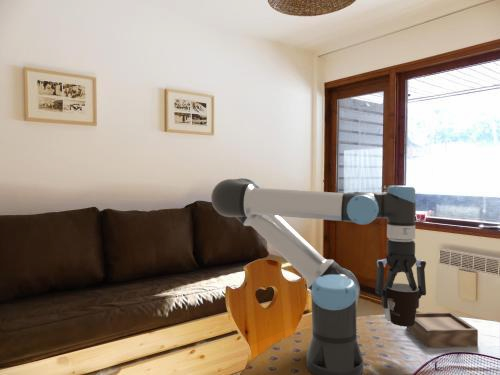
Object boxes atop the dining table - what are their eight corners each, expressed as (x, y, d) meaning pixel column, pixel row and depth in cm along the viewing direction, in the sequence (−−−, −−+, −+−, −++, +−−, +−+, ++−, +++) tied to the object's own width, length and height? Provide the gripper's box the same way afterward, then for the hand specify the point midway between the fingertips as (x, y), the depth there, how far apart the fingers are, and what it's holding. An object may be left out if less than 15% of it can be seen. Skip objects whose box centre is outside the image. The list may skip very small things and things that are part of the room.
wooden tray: (427, 347, 114) (427, 330, 114) (406, 327, 129) (406, 312, 129) (477, 346, 114) (477, 329, 114) (451, 326, 129) (451, 312, 129)
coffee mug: (422, 329, 103) (422, 292, 103) (388, 326, 105) (388, 290, 105) (413, 314, 115) (413, 281, 115) (382, 312, 117) (383, 279, 116)
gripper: (371, 241, 106) (370, 324, 106) (441, 241, 106) (440, 324, 106) (363, 237, 113) (362, 314, 114) (428, 237, 113) (427, 314, 114)
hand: (400, 319), depth 110 cm, fingers closed on coffee mug, 6 cm apart
